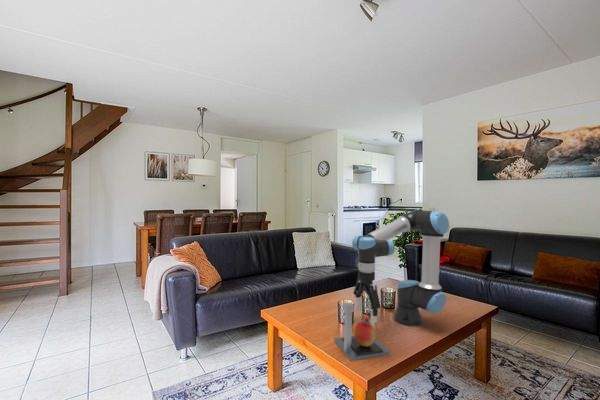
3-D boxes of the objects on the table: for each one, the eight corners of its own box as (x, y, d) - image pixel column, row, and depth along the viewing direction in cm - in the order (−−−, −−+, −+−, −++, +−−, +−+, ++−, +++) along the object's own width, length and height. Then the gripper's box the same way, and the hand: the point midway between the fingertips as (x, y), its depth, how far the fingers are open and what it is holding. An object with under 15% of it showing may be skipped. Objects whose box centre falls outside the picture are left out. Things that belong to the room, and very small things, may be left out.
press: (369, 336, 152) (371, 292, 152) (390, 354, 135) (392, 305, 135) (333, 341, 146) (334, 296, 146) (349, 361, 129) (351, 309, 128)
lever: (368, 334, 150) (368, 313, 150) (371, 337, 147) (371, 315, 147) (361, 335, 149) (361, 314, 149) (364, 338, 146) (364, 316, 146)
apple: (358, 351, 132) (359, 329, 132) (351, 341, 142) (351, 320, 141) (379, 349, 134) (379, 327, 134) (370, 339, 143) (370, 319, 143)
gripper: (347, 265, 148) (346, 307, 148) (373, 279, 124) (373, 329, 125) (360, 264, 150) (359, 305, 151) (389, 277, 126) (388, 326, 127)
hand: (365, 316), depth 138 cm, fingers open, 13 cm apart
